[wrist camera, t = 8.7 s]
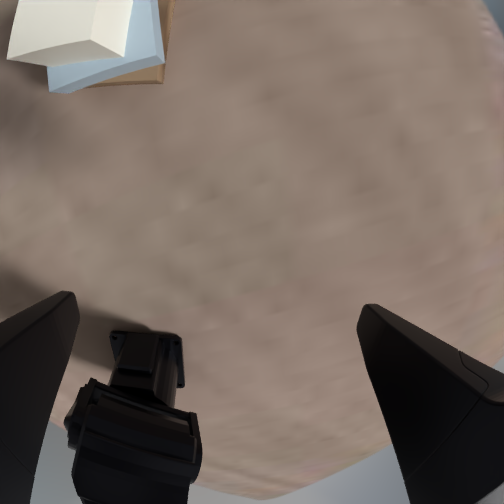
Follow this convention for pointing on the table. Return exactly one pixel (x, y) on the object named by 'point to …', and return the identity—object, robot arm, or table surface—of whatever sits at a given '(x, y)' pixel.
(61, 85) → the tower mid
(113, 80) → the tower base
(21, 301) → the table surface
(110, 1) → the cube
